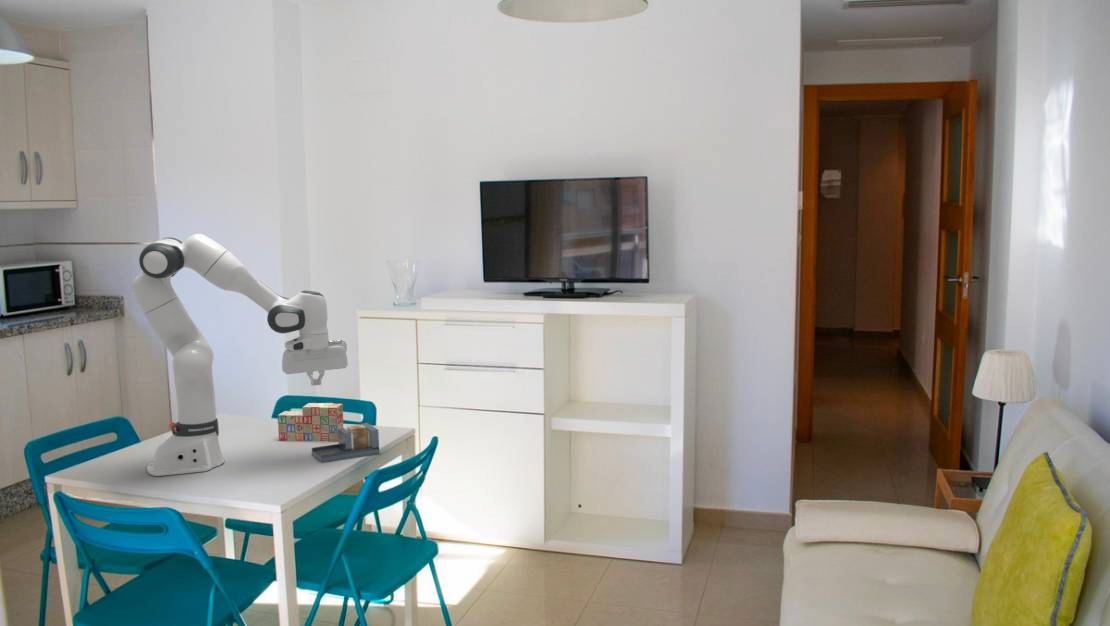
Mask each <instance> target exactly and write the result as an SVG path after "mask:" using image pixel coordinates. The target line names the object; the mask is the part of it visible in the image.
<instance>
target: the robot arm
mask: <svg viewBox="0 0 1110 626" xmlns="http://www.w3.org/2000/svg"><path fill="white" fill-rule="evenodd" d="M138 260H139V262H138V264H139V267H140V269H141V270H142V272H141V273H139V274H138V275H137V276H135V277H134V278H133V280H132V281H131V282H132V283H131V290H132V292H133V295H134V298H135V299H136V302H137V304H138V306H139V308H140V311H142V314H143V315H144V317H145V318H146V320H147V322H148V323H149V325H150V327H151V328H152V330H153V331H154V333H155V335H156V337H157V338H158V339H159V340H160V341H161V342H162V344H163V345H164V346H165V347H166V349H167V350H168V352H169V353H170V354H171V356H172V357H173V358H172V370H173V380H174V386H175V394H176V402H177V403H176V404H177V418H178V419H177V420H178V421H176V422H174V421H171V422H169V424H168V428H169V429H170V430H171V433H172V434H171V436H169V437H168V438H167V439H166V440H165V441H164V442H162V443H161V444H160V445H158V447H157V448H156V450H155V452H154V458H153V461H152V462H150V463H149V464H147V467H146V472H147V473H148V474H149V475H150V476H153V477H161V476H171V475H181V474H191V473H201V472H202V473H203V472H208V471H210V470H211V469H213V468H216V467H219V466H220V465H222V464H224V463H225V459H224V456H223V454H222V450H221V446H220V441H219V435H220V426H219V425H220V424H219V419H218V418H217V411H216V408H217V407H216V395H215V387H214V379H213V361H214V351H213V349H212V347H211V346H210V344H209V343H208V342H209V341H207V340H206V338H205V335H203V333H202V332H201V330H200V329H199V328H198V326H197V325H196V324H195V322H194V320H192V318H191V316H190V315H189V313H188V311H187V309H186V308H185V306H184V305H183V303H182V301H181V299H180V298H179V296H178V295H177V293H176V291H175V290H174V287H173V286H172V283H171V279H172V278H173V277H174V276H175V275H176V274H177V273H178V272H179V271H181V270H182V269H183V268H189V269H191V270H193V271H195V272H196V273H197V274H198V275H199V276H201V277H202V278H203V279H204V280H206V281H207V282H209V283H210V284H212V285H213V286H215V287H217V288H219V289H221V290H224V291H228V292H235V293H237V294H238V293H239V294H242V295H244V296H245V297H247V298H248V299H250V300H251V301H253V302H254V303H255V304H256V305H257V306H259V307H260V308H261V309H263V310H264V311H266V313H267V317H266V318H267V321H266V322H267V324H268V326H269V328H270V329H271V330H272V331H274V332H276V333H278V334H282V335H283V334H289V333H293V332H296V331H298V332H299V335H298V337H295V338H293V339H290V340H288V341H285V343H284V348H285V350H284V352H283V353H282V359H281V369H282V372H283V373H284V374H286V375H293V374H303V373H306V375H307V377H308V378H309V380H310V385H311V386H312V387H313V386H320V385H321V386H322V380H323V378H324V375H325V371H332V370H339V369H342V370H343V369H346V368H347V367H348V365H349V363H348V356H347V355H348V354H347V350H348V345H347V343H346V341H344V340H342V339H335V340H329V331H328V329H329V328H328V324H327V323H328V319H329V318H328V315H329V314H328V307H327V306H328V305H327V301H326V297H325V296H324V295H323V294H322V293H321V292H318V291H313V290H301V291H300V292H298V293H297V294H295V295H294V296H291V297H290V298H288V297H285V296H282V295H279V294H278V293H276V292H275V291H273V289H272V288H269V287H268V286H267V285H265V284H264V283H263V282H261V281H260V280H259V279H258V278H257V277H255V275H253V273H252V272H251V271H250V270H249V269H248V268H247V267H246V266H245V265H244V264H243V263H242V261H241V260H239V258H237V256H235V255H234V254H233V253H232V252H230V250H228V249H227V248H226V247H225V246H223V245H221V244H220V243H218V242H217V241H216V240H214V239H212V238H210V237H209V236H207V235H204V234H202V233H195V234H192V235H190V236H188V237H187V238H186V239H185V240H183V242H182V241H181V240H179V239H178V238H174V237H163V238H161V239H157V240H155V241H152V242H150V244H148V245H147V246H145V247H144V248H143V249H142V251H140V254H139V258H138ZM315 372H317V373H318V374H319V375H318V377H317V378H314V377H313V375H314V373H315Z"/></svg>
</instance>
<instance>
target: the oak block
mask: <svg viewBox="0 0 1110 626" xmlns="http://www.w3.org/2000/svg"><path fill="white" fill-rule="evenodd" d="M346 429H347V430H348V431H350V432H351V433H353V446H354V450H356V449H363V448H367V444H366V427H365V426H363V425H360V424H358V425H351V426H346Z"/></svg>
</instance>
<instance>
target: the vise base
mask: <svg viewBox="0 0 1110 626" xmlns="http://www.w3.org/2000/svg"><path fill="white" fill-rule="evenodd" d="M359 425H363V426H365V427H366V444H367V448H363V449H356V450H350V451H344V450H343V449H341V448H340V447H339V443H336V444H329V445H323V446H322V445H321V446H316V447H311V456H313V457H314V458H315V459H316V460H318V461H319V462H320V463H329V462H335V461H341V460H342V459H343V460H348V458H349V459H355V458H360V457H367V456H373V455H379V454H380V440H379V439H380V437H379V429H378V428H377V427H375V426H374V425H372V424H370V423H368V422H363V423H360V424H359ZM343 460H342V461H343Z"/></svg>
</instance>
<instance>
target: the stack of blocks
mask: <svg viewBox="0 0 1110 626" xmlns="http://www.w3.org/2000/svg"><path fill="white" fill-rule="evenodd" d="M343 407H344V406H343V403H333V402H325V403H324V402H321V403H320V402H319V403H317V402H308V403H307V404H305V405H304V406H302V411H300V410H299V411H297V410H294V411H293V410H292V411H290V410H284V411H283V412H281V413H279V414H277V424H278V425H277V427H278V428H277V429H278V430H277V431H278V441H281V442H282V441H284V442H285V441H288V442H321V441H328V443H330V442H332V443H334V442H335V443H339V442H338V429H340V428H344V412H343V411H344V410H343Z"/></svg>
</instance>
